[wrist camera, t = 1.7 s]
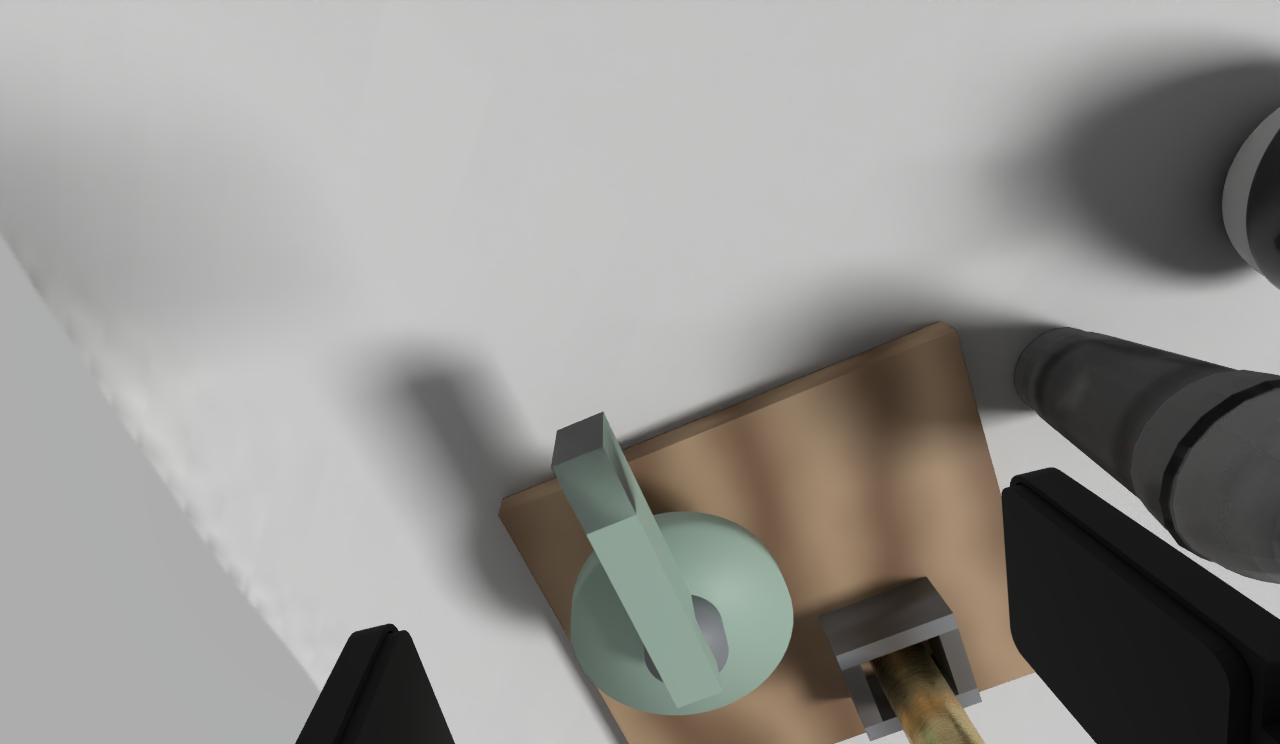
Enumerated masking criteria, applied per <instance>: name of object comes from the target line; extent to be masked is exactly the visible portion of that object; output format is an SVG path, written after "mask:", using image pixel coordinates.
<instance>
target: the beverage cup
mask: <svg viewBox="0 0 1280 744" xmlns="http://www.w3.org/2000/svg"><path fill="white" fill-rule="evenodd" d="M1014 383H1015V386H1016V390H1017V393H1018V394H1019V396H1020V397H1021V398H1022V400H1023V401H1024V402H1025V403H1027V404H1028V405H1030V406H1031V407H1032V409H1034V410H1035V411H1036V412H1037V414H1038V415H1039V416H1040V417H1041V418H1042V419H1043V420H1044V421H1046V422H1047V423H1048V424H1049V425H1050V426H1052V427H1053V428H1054V429H1055V430H1057V431H1058V432H1059V433H1060V434H1061V435H1063V436H1064V437H1065V438H1066V439H1067V440H1069V441H1070V442H1071V443H1072V444H1074V445H1075V446H1076V447H1077V448H1078V449H1080V450H1081V451H1082V452H1083V453H1084V454H1086V455H1087V456H1088V457H1089V458H1090V459H1092V460H1093V461H1094V462H1095V463H1097V464H1098V465H1099V466H1100V467H1101V468H1103V469H1104V470H1105V471H1106V472H1107V473H1109V474H1110V475H1111V476H1112V477H1113V478H1115V479H1116V480H1117V481H1118V482H1120V483H1121V484H1122V485H1123V486H1124V487H1126V488H1127V489H1128V490H1129V491H1130V492H1132V493H1133V494H1134V495H1135V496H1137V497H1138V498H1139V499H1140V500H1141V501H1142V503H1143V504H1144V505H1145V507H1146V508H1147V509H1148V511H1149V512H1150V513H1151V514H1152V515H1153V516H1154V517H1155V518H1156V519H1157V520H1158V521H1159V522H1160V523H1161V525H1162V526H1163V527H1164V528H1165V529H1166V530H1168V531H1169V533H1170V534H1171V535H1172V537H1173V538H1174V539H1175V541H1176V542H1177V544H1178V545H1179V546H1181V547H1183V548H1185V549H1186V550H1188V551H1190V552H1192V553H1193V554H1195V555H1197V556H1199V557H1200V558H1203V559H1205V560H1208V561H1211V562H1215V563H1217V564H1219V565H1221V566H1222V567H1224V568H1226V569H1228V570H1230V571H1233V572H1235V573H1237V574H1240V575H1242V576H1245V577H1249V578H1252V579H1256V580H1260V581H1264V582H1270V583H1277V584H1280V376H1279V375H1274V374H1268V373H1261V372H1254V371H1248V370H1236V369H1232V368H1228V367H1224V366H1221V365H1217V364H1213V363H1209V362H1206V361H1202V360H1198V359H1194V358H1191V357H1187V356H1183V355H1179V354H1176V353H1172V352H1168V351H1164V350H1161V349H1157V348H1153V347H1149V346H1146V345H1142V344H1138V343H1134V342H1131V341H1127V340H1123V339H1120V338H1116V337H1112V336H1108V335H1104V334H1099V333H1094V332H1086V331H1083V330H1080V329H1075V328H1070V327H1066V328H1058V329H1053V330H1051V331H1049V332H1046V333H1044V334H1041V335H1040V336H1039V337H1037V338H1036V339H1035V340H1034V341H1032V342H1031V343H1030V344H1029V345H1028V346H1027V347H1026V349H1025V350H1024V351H1023V353H1022V354H1021V355H1020V358H1019V360H1018V363H1017V365H1016V368H1015V377H1014Z"/></svg>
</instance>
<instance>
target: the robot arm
mask: <svg viewBox="0 0 1280 744" xmlns="http://www.w3.org/2000/svg"><path fill="white" fill-rule="evenodd" d="M1001 499H1002V514H1003V529H1004V544H1005V559H1006V574H1007V589H1008V604H1009V619H1010V630H1011V635H1012V638H1013V641H1014V643H1015V646H1016V648H1017V649H1018V651H1019V653H1020V654H1021V655H1022V657H1023V658H1024V659H1025V660H1026V661H1027V663H1028V664H1029V665H1030V666H1031V667H1032V668H1033V670H1034V671H1035V672H1036V673H1037V674H1038V675H1039V677H1040V678H1041V679H1042V680H1043V681H1044V682H1045V684H1046V685H1047V686H1048V687H1049V688H1050V690H1051V691H1052V692H1053V693H1054V694H1055V695H1056V697H1057V698H1058V699H1059V700H1060V701H1061V702H1062V704H1063V705H1064V706H1065V707H1066V708H1067V709H1068V711H1069V712H1070V713H1071V714H1072V715H1073V717H1074V718H1075V719H1076V720H1077V721H1078V722H1079V724H1080V725H1081V726H1082V727H1083V728H1084V729H1085V731H1086V732H1087V733H1088V734H1089V735H1090V736H1091V738H1092V739H1093V740H1094V741H1095V742H1096V743H1097V744H1280V619H1278V618H1277V617H1275V616H1274V615H1272V614H1271V613H1269V612H1268V611H1266V610H1265V609H1264V608H1262V607H1261V606H1259V605H1258V604H1256V603H1255V602H1253V601H1252V600H1250V599H1249V598H1247V597H1246V596H1244V595H1243V594H1241V593H1240V592H1239V591H1237V590H1236V589H1234V588H1233V587H1231V586H1230V585H1228V584H1227V583H1225V582H1224V581H1222V580H1221V579H1219V578H1218V577H1216V576H1215V575H1213V574H1212V573H1211V572H1209V571H1208V570H1206V569H1205V568H1203V567H1202V566H1200V565H1199V564H1197V563H1196V562H1194V561H1193V560H1191V559H1190V558H1188V557H1187V556H1185V555H1184V554H1183V553H1181V552H1180V551H1178V550H1177V549H1175V548H1174V547H1172V546H1171V545H1169V544H1168V543H1166V542H1165V541H1163V540H1162V539H1160V538H1159V537H1157V536H1156V535H1155V534H1153V533H1152V532H1150V531H1149V530H1147V529H1146V528H1144V527H1143V526H1141V525H1140V524H1138V523H1137V522H1135V521H1134V520H1132V519H1131V518H1129V517H1128V516H1127V515H1125V514H1124V513H1122V512H1121V511H1119V510H1118V509H1116V508H1115V507H1113V506H1112V505H1110V504H1109V503H1107V502H1106V501H1104V500H1103V499H1101V498H1100V497H1099V496H1097V495H1096V494H1094V493H1093V492H1091V491H1090V490H1088V489H1087V488H1085V487H1084V486H1082V485H1081V484H1079V483H1078V482H1076V481H1075V480H1073V479H1072V478H1071V477H1069V476H1068V475H1066V474H1065V473H1063V472H1062V471H1060V470H1058V469H1056V468H1045V469H1041V470H1037V471H1033V472H1028V473H1024V474H1020V475H1016V476H1014V477H1013V478H1012V479H1011V482H1010V487H1007V488H1005V489H1003V491H1002V497H1001ZM295 744H455V743H454V740H453V738H452V735H451V733H450V731H449V728H448V726H447V723H446V721H445V718H444V716H443V713H442V711H441V709H440V706H439V704H438V701H437V699H436V696H435V694H434V692H433V689H432V687H431V684H430V682H429V679H428V677H427V674H426V672H425V670H424V667H423V665H422V662H421V660H420V657H419V655H418V652H417V650H416V648H415V645H414V643H413V640H412V638H411V636H410V634H409V633H408V632H407V631H405V630H402V631H398V629H397V628H396V627H395V626H394V625H393V624H386V625H381V626H377V627H373V628H369V629H364V630H360V631H356V632H354V633H352V634H351V636H350V637H349V639H348V641H347V643H346V645H345V647H344V648H343V650H342V652H341V654H340V656H339V658H338V660H337V662H336V664H335V666H334V668H333V670H332V672H331V674H330V676H329V678H328V680H327V682H326V684H325V686H324V688H323V690H322V692H321V694H320V696H319V698H318V700H317V702H316V704H315V706H314V708H313V710H312V712H311V713H310V716H309V718H308V719H307V721H306V723H305V726H304V728H303V730H302V731H301V733H300V735H299V737H298V739H297V741H296V743H295Z"/></svg>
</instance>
